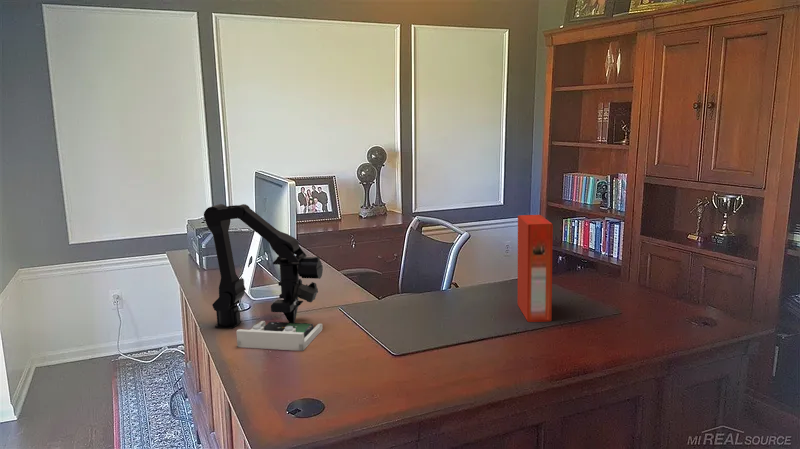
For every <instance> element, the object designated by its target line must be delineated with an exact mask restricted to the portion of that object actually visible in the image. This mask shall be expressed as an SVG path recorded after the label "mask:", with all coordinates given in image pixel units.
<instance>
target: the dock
mask: <svg viewBox="0 0 800 449" xmlns="http://www.w3.org/2000/svg"><path fill="white" fill-rule="evenodd" d="M266 325H267V324H266V320H261V321H259V322H258V323H257V324H254V325H253V326H252V328H251V329H241V328H238V329H237V330H236V346H237V348H243V349H244V348H247V349H260V350H261V349H262V350H264V349H266V350H280V351H282V350H284V351H300V352H301V351H302V352H304V351H305V349H306V348H307V347H308V346H309V345H310V344H311V343H312V342H313V341H314V339H316V337H318V335H319V334H320V333H321V332H322V331H323V323H317V325H315V326H314V329H313V330H312V331H311V332H310V333H309V334H308V335H307V336H306V337H305V338H304V333H303V332H296V328H293V326H286V327H285V329H284V330H283V331H264V326H266Z"/></svg>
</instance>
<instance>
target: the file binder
mask: <svg viewBox="0 0 800 449" xmlns="http://www.w3.org/2000/svg"><path fill="white" fill-rule="evenodd" d="M553 228H554V226H553V223H552V222H550V221H549V220H548V219H546V217H544V216H543V215H541V214H523V215H522V214H521V215H520V214H519V215H517V306H518V308H519V309H520V311H521V313H522V314H523V317H524V318H525V320H526V321H527V322H528V323H531V322H532V323H537V322H538V323H539V322H540V323H541V322H544V323H545V322H551V321H552V307H553V306H552V303H553V302H552V301H553V239H554V237H553V235H554V234H553V232H554V230H553Z"/></svg>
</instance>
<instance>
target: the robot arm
mask: <svg viewBox="0 0 800 449" xmlns="http://www.w3.org/2000/svg"><path fill="white" fill-rule="evenodd" d="M203 218H204V221H205V224H206V227H207V229H208V230H209V231H210V232H211V234H212V237H213V242H214V247H215V252H216V257H217V263H218V264H217V265H218V268H219V275H220V281H219V285H218V298H217V299H216V300H215V301H214V302H213V303H212V309H213V310H214V311H215V312H216V323H217V324H215V325H214V328H219V329H221V328H222V329H234V328H235V327H237V326H238V325H239V324H241V323H242V319H241V310H239V305H238V304H240V302H241V299H243V297H244V296H245V291H246V290H247V288H246V287H245V279H244V277H242V278H240V277H239V276H238V275H237V272H236V267H235V260H234V256H233V251H232V244H231V239H230V235H229V234H230V233H229V229H230V226H231V220H235V219H239V220H240V221H241V222H243V223H244V224H245V225H246V226H248V227H249V228H250V229H252V230H253V232H256V233H257V234H258V235H259V236H260V237H261V238H262V239H264V240H265V241H267V243H268V244H269V246H270V248H271V250H272V251H273V252H274V253H275V254H276V255H277V257H276V259H275V260H274V261H273V262H272V265H277V266H278V265H279V276H280V281H279V282H278V285H277V286H280V292H281V293H280V294H279V299H276V300H275V301H274V302H272V303H271V305H270V311H271V313H283V315H284V317H285V318H286V319H287V322H288V323H296V319H297V315H298V314H297V313H298V308H299V307H300V306H301V305H302V304H303V303H304V301H305V302H307V303H312V302H313V301H314V300H316V297H317V294H318V293H319V291H318V287H317V286H318V285H317V283H316V282H313V281H311V282H310V283H309V284H307V283H306V284H303V280H302V279H313V280H314V279H315V280H316V279H319V280H320V279H321V278H322V277H323V272H324V267H323V263H322V261H321V259H320V256H307V254H306V252H304V249H302V248H301V247H300V242H299V240H298V239H297V238H295V237H293V236H292V235H290V234H288V233H285V232H282V231H280V230H278V229H277V228H275V227H274V226H273V225H271V223H269V222H268V221H267V220H265V219H264V218H263V217H262V216H260V215H259V214H258V213H256V212H255V211H254V210H252V208H251V207H250V206H249V205H247V204H245V203H244V204H238V205H237V204H235V205H225V204H223V203H219V204H215V205H212V206H208V207H207V208H206V209H205V211H203ZM300 277H301V278H300ZM300 299H301V300H300Z"/></svg>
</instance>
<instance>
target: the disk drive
mask: <svg viewBox="0 0 800 449" xmlns="http://www.w3.org/2000/svg"><path fill="white" fill-rule="evenodd" d="M286 326H293V328H296V332H303V333H304V338H305V337H306V336H307V335H308V334H309V333H310V332H311V331H312V330H313V329H314V328H315V326H314V324H313V323H308V322H295V323H289V321H287V322H286V321H285V322H284V321H269V322H268V323H267V324H266V326H264V331H283V330H284V329H285V327H286Z"/></svg>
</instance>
